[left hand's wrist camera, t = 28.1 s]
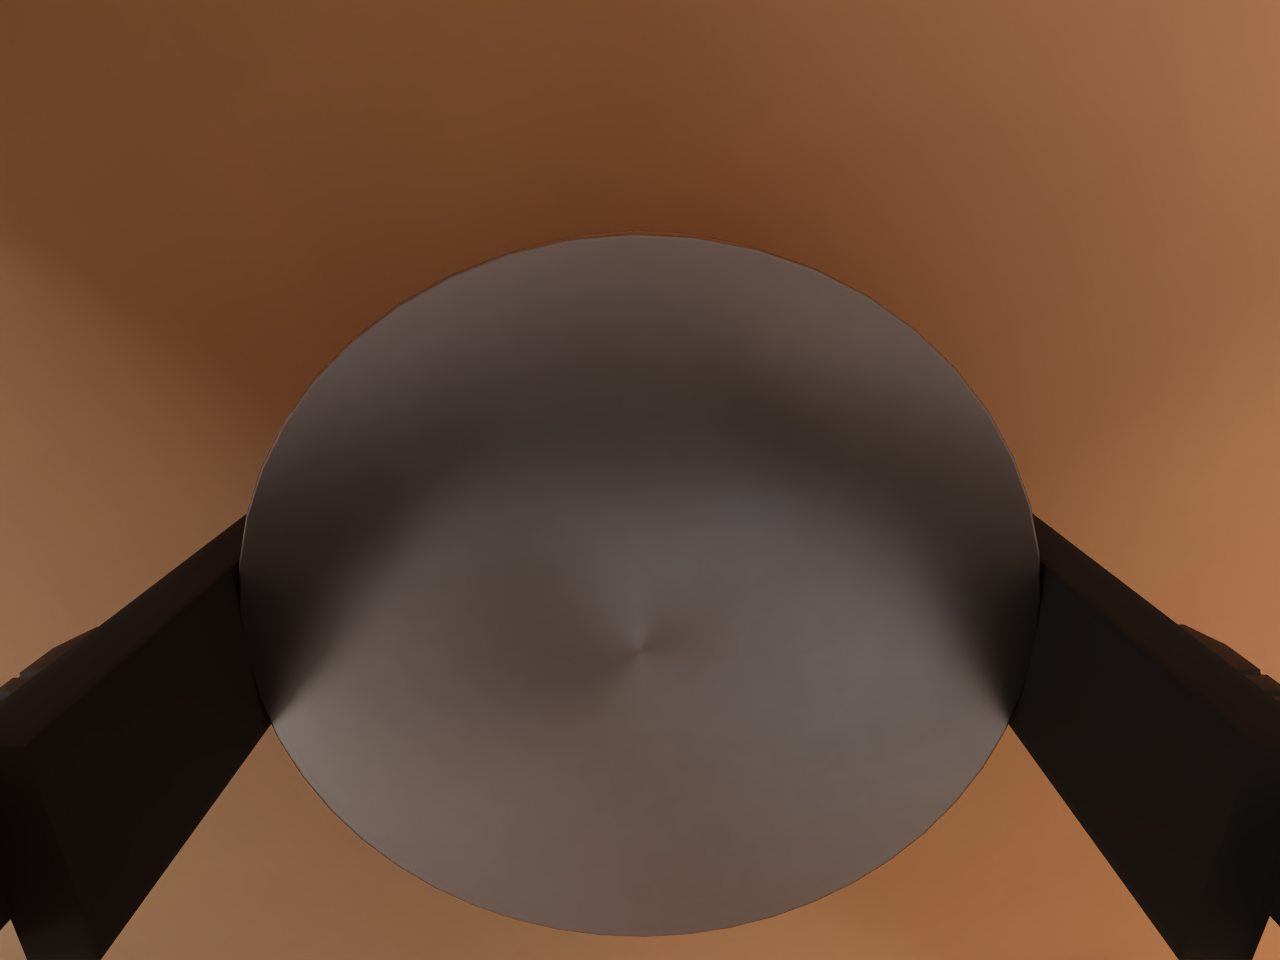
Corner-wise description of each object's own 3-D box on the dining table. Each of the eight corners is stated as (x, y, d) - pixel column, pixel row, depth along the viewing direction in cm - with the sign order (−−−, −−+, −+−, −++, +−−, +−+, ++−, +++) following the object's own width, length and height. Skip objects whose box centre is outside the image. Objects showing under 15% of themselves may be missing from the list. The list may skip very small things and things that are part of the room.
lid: (227, 236, 10) (148, 241, 8) (1041, 224, 10) (1120, 225, 8) (351, 855, 14) (311, 941, 12) (939, 849, 14) (979, 933, 12)
